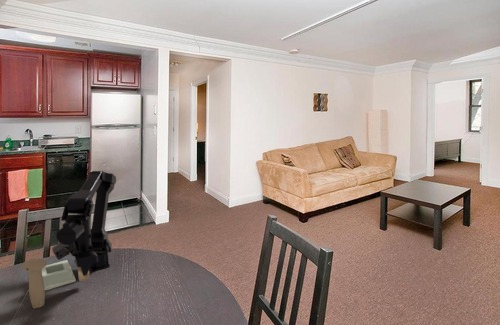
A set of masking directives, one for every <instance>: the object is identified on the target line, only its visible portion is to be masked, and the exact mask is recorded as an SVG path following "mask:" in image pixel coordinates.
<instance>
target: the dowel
mask: <svg viewBox="0 0 500 325" xmlns="http://www.w3.org/2000/svg"><path fill="white" fill-rule="evenodd" d="M77 272H78V275H77V276H78V281H80V282H85V281H87V280H89V279H90V277H91V276H90V270H89V271H88V273H87V275H86V276H83V274H82V270H81V267H77Z"/></svg>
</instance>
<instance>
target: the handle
mask: <svg viewBox="0 0 500 325" xmlns="http://www.w3.org/2000/svg"><path fill="white" fill-rule="evenodd" d="M46 265H47V261H46V260H45V259H43V258H34V259H32V258H31V259H29V260H25V261H24V262H23V263H22V269H23V270H24V271H26V272H28V293H29V300H30V303H31V306H32V308H33V309H39V308H42V307H43V306H44V305H45V298H46V294H45V293H46V290H45V288H44V282H43V276H42V268H44V267H45V266H46Z"/></svg>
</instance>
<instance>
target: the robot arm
mask: <svg viewBox="0 0 500 325" xmlns="http://www.w3.org/2000/svg"><path fill="white" fill-rule="evenodd" d="M115 184H117V177H116V175H114V173H110V172H106V171H103V170H91V171H89V174H88V177H87V179H86V180H85V182H84V184H83V185H82V187H81V188H80V189H79V191H77V192H75V193H73V194H71V195H70V196H68V199H67V200H66V201H65V203H64V207H63V211H62V215H61V219H60V220H61V221H65V222H64V223H62V227H61V228H60V229H59V230H57V233H56V235H55V236H56V239H57V242H59V244H57V245H54V246H53V247H52V252H53V255H54V256H55V258H56V259H57V260H58V261H59V260H62V259H63V258H64V257H67V256H68V255H71V256H73V257H74V263H75V266H76V267H77V268H78V267H81V270H82V274H83V276H86V275H87V273H88V271H89V272H90V270H91V271H92V272H96V271H100V270H102V269H106V268H109V267H111V266H110V263H109V254H110V253H111V252H112V247H113V246H112V242H111V241H110V240H109V235H108V233H107V231H106V222H107V221H106V220H107V211H108V207H109V206H108V205H109V197H110V194H111V193H112V192H113V190H114V188H115ZM94 196H95V201H94V202H93V197H94ZM92 212H93V216H92ZM91 216H92V224H91V218H90V217H91Z"/></svg>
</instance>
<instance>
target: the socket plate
mask: <svg viewBox="0 0 500 325" xmlns="http://www.w3.org/2000/svg"><path fill="white" fill-rule="evenodd" d="M72 269H73V268H72V267H71V265H70V264H69V261H68V260H67V259H65V260H63V261H62V260H61V261H58V262H55V263H51V264H46V266H45V267H44V268H42V276H43V282H44V288H45V291H47V290H51V289H52V290H53V289H54V288H58V287H62V286H65V285H68V284H72V283H75V282H76V281H77V280H76V277H75V274H74V272H73V270H72Z"/></svg>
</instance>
